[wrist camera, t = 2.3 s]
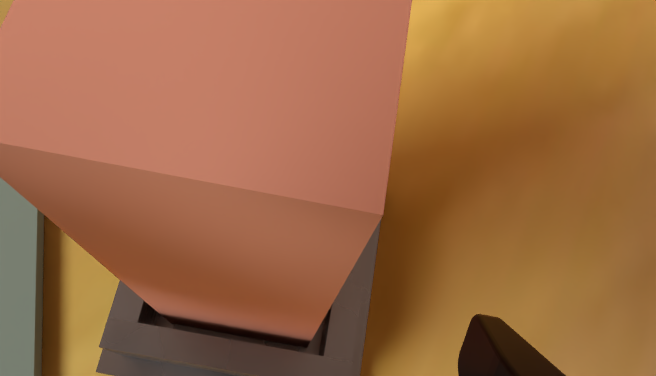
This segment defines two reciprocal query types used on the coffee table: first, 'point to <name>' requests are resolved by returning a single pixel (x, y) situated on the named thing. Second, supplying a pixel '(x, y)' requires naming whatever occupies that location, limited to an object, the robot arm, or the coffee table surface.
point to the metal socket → (238, 338)
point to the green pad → (20, 284)
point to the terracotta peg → (208, 146)
